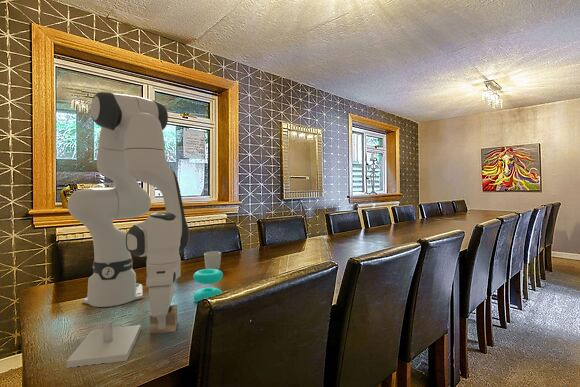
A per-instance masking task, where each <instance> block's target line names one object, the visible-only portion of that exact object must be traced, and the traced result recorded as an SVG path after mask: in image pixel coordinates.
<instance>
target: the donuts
mask: <svg viewBox="0 0 580 387" xmlns="http://www.w3.org/2000/svg"><path fill="white" fill-rule="evenodd" d="M223 276H224V273H223V271H222V270H221V269H206V268H204V269H199V270H197V271H196V272H194V273H193V276H192V278H193V280H194V282H196V283H198V284H202V285H212V284H215V283H218V282H220V281H221V280H222V279H223ZM222 292H223V291H222V290H221V289H220V288H219V287H212V286H210V287H203V288H199V289H197V290H196V291H195V292H194V293H193V300H194V301H195V302H196V303H197V302H198V301H199V300H201V299H204V298H207V297H211V296H214V295H217V294H220V293H222Z"/></svg>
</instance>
